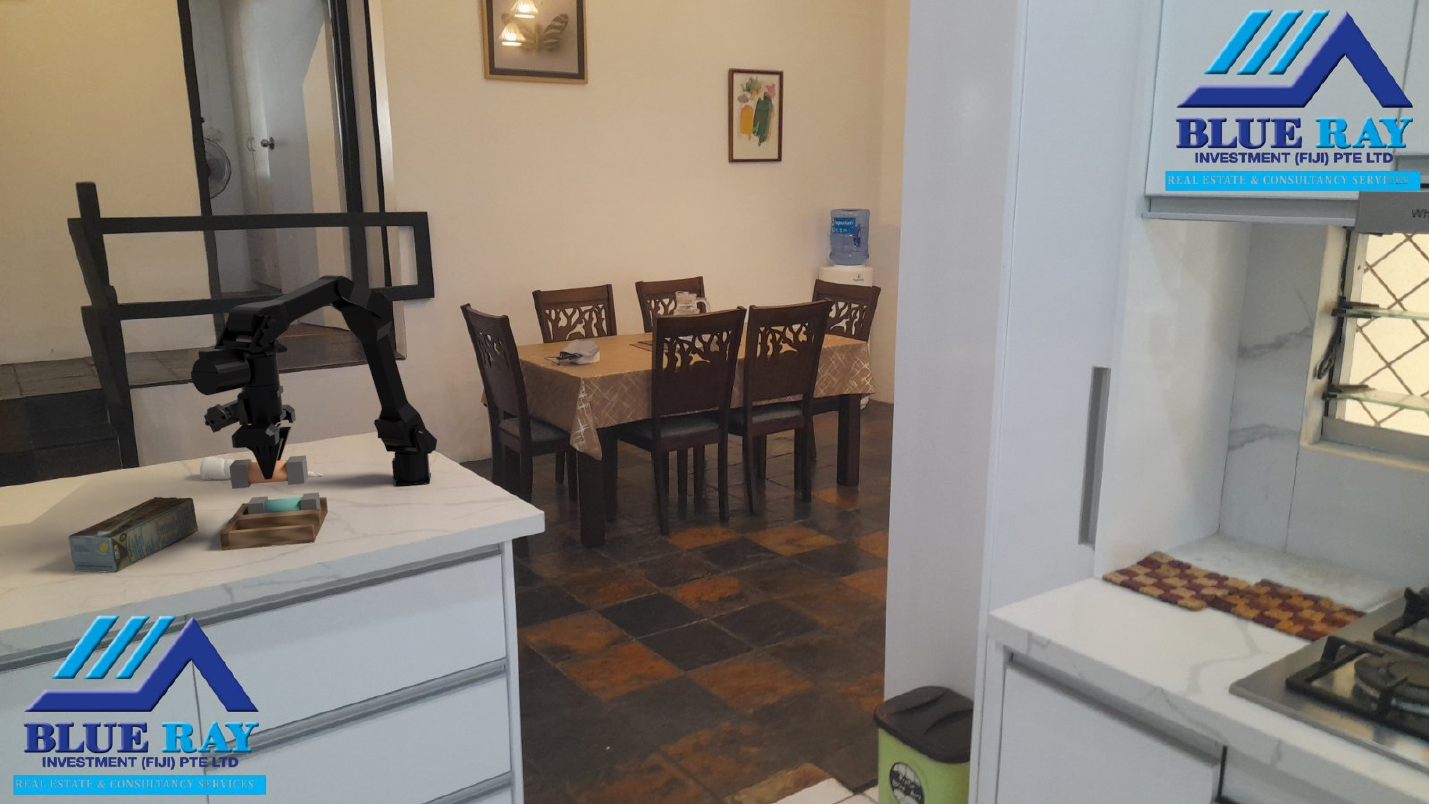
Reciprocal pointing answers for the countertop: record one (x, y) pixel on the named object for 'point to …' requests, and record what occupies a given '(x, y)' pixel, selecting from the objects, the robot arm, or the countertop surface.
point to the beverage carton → (133, 534)
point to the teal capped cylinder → (283, 504)
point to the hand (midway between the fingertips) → (270, 475)
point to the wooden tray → (272, 527)
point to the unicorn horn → (223, 469)
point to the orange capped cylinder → (284, 470)
